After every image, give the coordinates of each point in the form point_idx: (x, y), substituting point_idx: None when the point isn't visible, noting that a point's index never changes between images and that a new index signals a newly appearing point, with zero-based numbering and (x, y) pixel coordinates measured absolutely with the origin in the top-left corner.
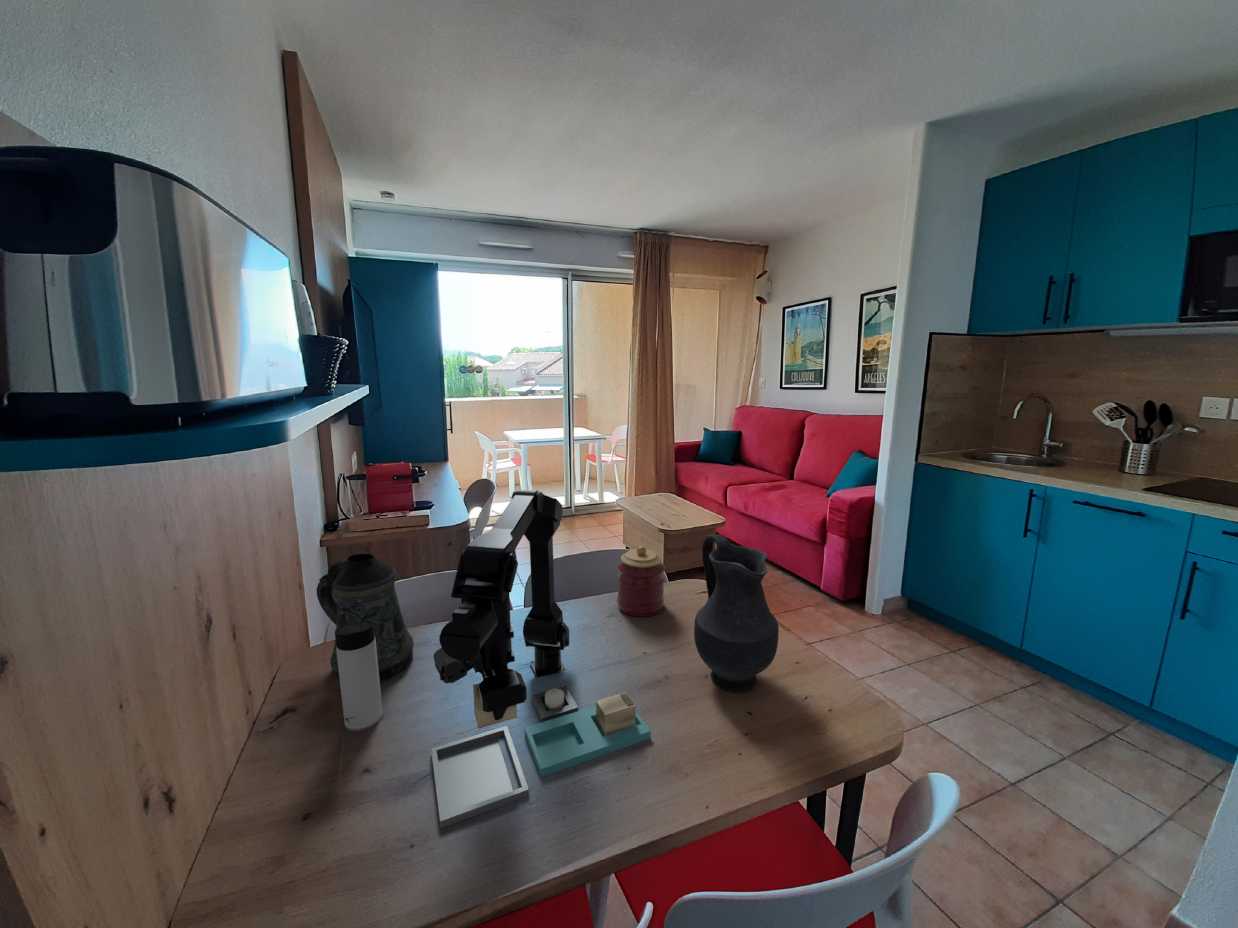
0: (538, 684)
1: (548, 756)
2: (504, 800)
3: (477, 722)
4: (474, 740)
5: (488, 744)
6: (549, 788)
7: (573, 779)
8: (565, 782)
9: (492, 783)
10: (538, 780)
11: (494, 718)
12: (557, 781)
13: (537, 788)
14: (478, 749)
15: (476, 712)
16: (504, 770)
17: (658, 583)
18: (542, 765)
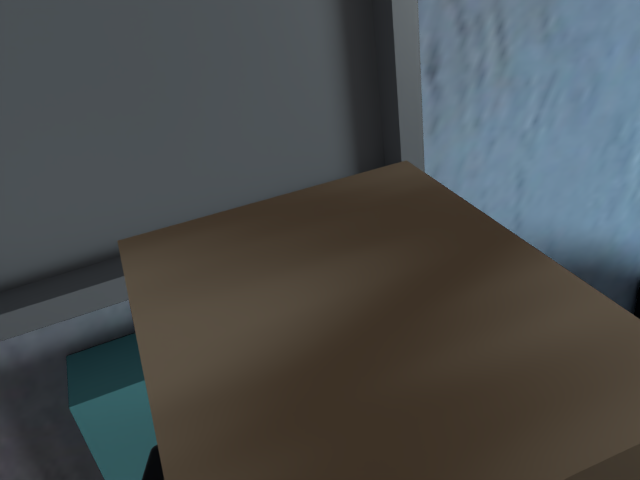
0: (617, 283)
1: (152, 426)
2: None
3: (180, 245)
4: (387, 25)
5: (351, 100)
6: (24, 393)
7: (68, 471)
8: (54, 446)
9: (57, 140)
10: (81, 343)
11: (145, 468)
12: (64, 417)
13: (29, 345)
14: (332, 44)
15: (258, 291)
16: (147, 198)
17: None
18: (94, 410)
